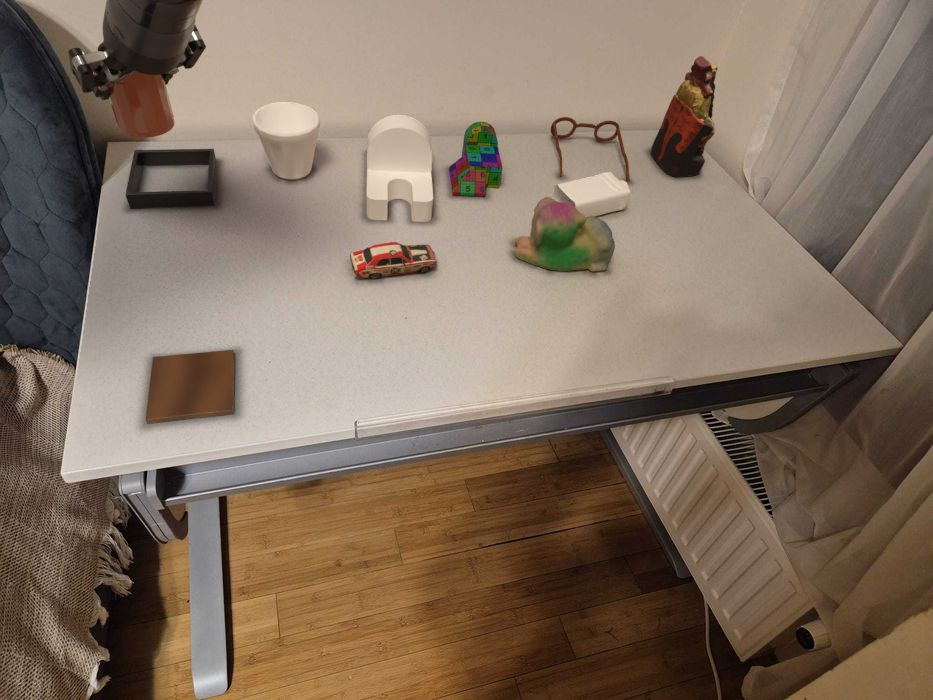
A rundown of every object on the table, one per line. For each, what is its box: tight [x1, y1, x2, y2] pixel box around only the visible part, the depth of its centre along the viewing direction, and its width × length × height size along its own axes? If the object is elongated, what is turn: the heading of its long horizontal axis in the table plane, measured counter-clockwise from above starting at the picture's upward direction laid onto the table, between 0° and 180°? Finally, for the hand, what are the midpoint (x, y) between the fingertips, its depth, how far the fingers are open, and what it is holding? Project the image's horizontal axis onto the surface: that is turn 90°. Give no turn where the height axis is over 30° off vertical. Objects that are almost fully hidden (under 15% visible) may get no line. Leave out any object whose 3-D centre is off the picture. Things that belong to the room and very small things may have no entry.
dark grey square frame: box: [125, 148, 218, 210], centre depth 93 cm, size 12×12×2 cm
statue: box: [650, 55, 719, 178], centre depth 109 cm, size 12×8×20 cm, turn 12°
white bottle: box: [550, 171, 631, 217], centre depth 102 cm, size 6×13×4 cm, turn 118°
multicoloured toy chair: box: [448, 121, 504, 198], centre depth 103 cm, size 12×8×7 cm
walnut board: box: [144, 349, 235, 424], centre depth 71 cm, size 9×9×1 cm
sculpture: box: [514, 196, 616, 273], centre depth 90 cm, size 15×8×10 cm, turn 104°
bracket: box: [366, 114, 434, 223], centre depth 97 cm, size 19×10×11 cm, turn 5°
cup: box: [251, 101, 321, 181], centre depth 97 cm, size 10×10×9 cm
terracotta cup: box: [102, 69, 176, 139], centre depth 74 cm, size 6×6×8 cm
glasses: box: [550, 116, 631, 182], centre depth 111 cm, size 13×13×5 cm
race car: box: [349, 241, 437, 280], centre depth 87 cm, size 5×12×5 cm, turn 102°
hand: (130, 84), depth 74 cm, fingers closed on terracotta cup, 6 cm apart
